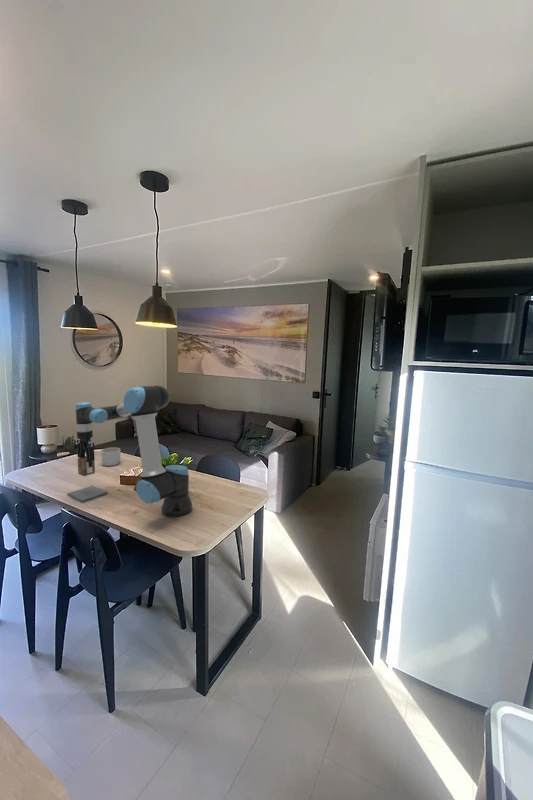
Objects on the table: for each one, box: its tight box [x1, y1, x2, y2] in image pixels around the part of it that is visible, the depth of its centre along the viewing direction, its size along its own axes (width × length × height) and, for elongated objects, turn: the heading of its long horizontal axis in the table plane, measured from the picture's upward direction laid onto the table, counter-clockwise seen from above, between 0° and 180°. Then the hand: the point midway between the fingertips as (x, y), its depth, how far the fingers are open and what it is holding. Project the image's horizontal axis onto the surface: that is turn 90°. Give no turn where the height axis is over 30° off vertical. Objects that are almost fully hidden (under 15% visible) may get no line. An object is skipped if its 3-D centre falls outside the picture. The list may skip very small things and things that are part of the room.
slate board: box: [66, 485, 109, 504], centre depth 180 cm, size 16×14×1 cm
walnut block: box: [77, 455, 96, 477], centre depth 178 cm, size 6×6×9 cm
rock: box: [133, 473, 141, 491], centre depth 192 cm, size 11×9×10 cm
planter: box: [100, 447, 121, 467], centre depth 230 cm, size 12×12×11 cm
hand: (86, 471), depth 178 cm, fingers closed on walnut block, 6 cm apart
